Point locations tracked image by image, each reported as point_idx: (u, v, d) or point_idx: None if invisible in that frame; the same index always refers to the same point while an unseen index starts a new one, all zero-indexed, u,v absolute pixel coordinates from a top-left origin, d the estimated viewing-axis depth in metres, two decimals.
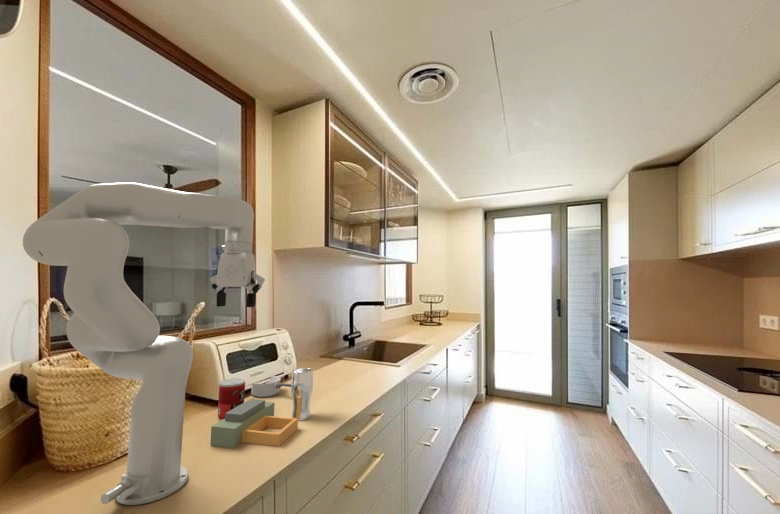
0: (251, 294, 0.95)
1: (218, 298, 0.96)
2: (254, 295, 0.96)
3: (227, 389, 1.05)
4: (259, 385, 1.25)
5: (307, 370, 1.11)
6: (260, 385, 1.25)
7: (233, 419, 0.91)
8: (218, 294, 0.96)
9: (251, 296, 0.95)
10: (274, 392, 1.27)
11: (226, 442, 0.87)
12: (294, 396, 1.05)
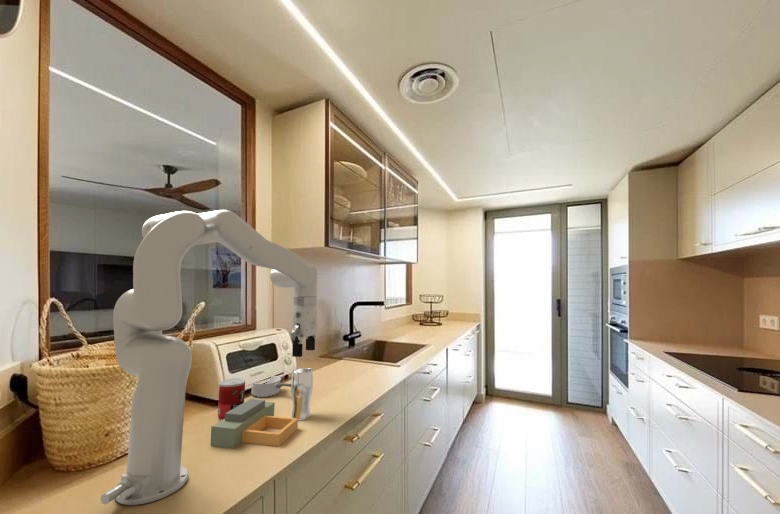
0: None
1: None
2: None
3: (227, 389, 1.05)
4: (260, 384, 1.25)
5: (307, 370, 1.11)
6: (260, 384, 1.25)
7: (233, 419, 0.91)
8: (302, 345, 1.05)
9: None
10: (274, 392, 1.27)
11: (226, 442, 0.87)
12: (294, 396, 1.05)
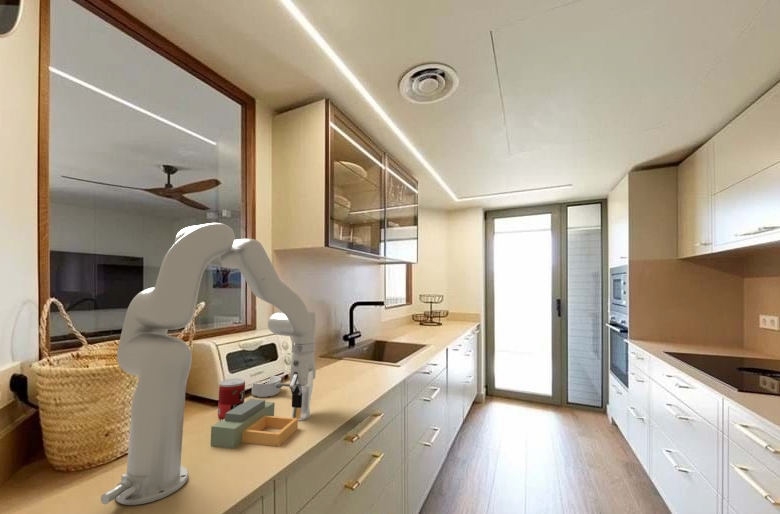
0: None
1: (301, 399, 1.04)
2: None
3: (227, 389, 1.05)
4: (260, 385, 1.25)
5: None
6: (260, 385, 1.25)
7: (233, 419, 0.91)
8: (301, 396, 1.04)
9: None
10: (275, 392, 1.27)
11: (226, 442, 0.87)
12: None
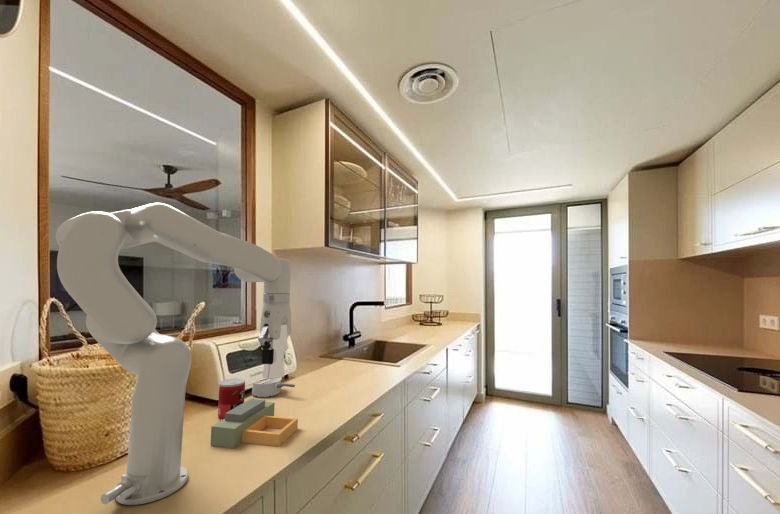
0: None
1: None
2: None
3: (227, 389, 1.05)
4: (260, 385, 1.25)
5: None
6: (261, 385, 1.24)
7: (233, 419, 0.91)
8: (273, 351, 0.93)
9: None
10: (275, 392, 1.27)
11: (226, 442, 0.87)
12: None
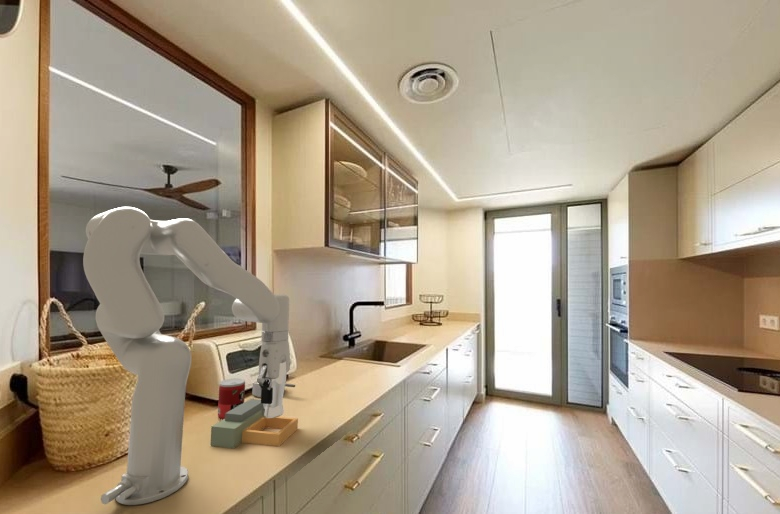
0: None
1: None
2: None
3: (227, 389, 1.05)
4: None
5: None
6: None
7: (233, 419, 0.91)
8: (272, 390, 0.92)
9: None
10: None
11: (226, 442, 0.87)
12: None
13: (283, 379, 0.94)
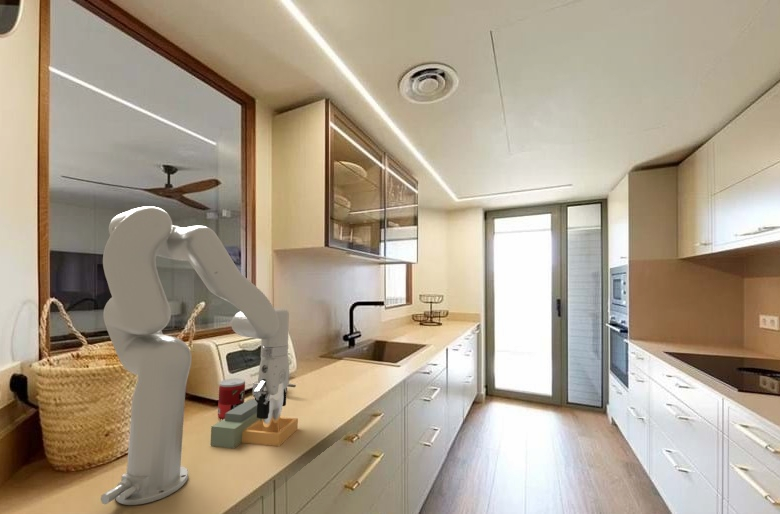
0: (284, 392, 1.00)
1: (268, 409, 0.90)
2: None
3: (227, 389, 1.05)
4: None
5: None
6: None
7: (233, 419, 0.91)
8: (268, 405, 0.90)
9: (284, 394, 1.00)
10: None
11: (226, 442, 0.87)
12: None
13: (280, 401, 0.93)
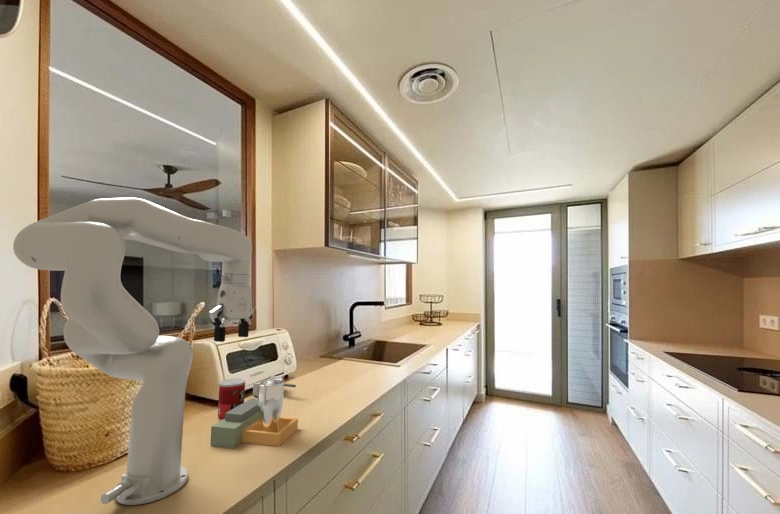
0: None
1: (224, 332, 0.91)
2: None
3: (227, 389, 1.05)
4: None
5: (278, 382, 0.98)
6: None
7: (233, 419, 0.91)
8: (225, 328, 0.91)
9: None
10: None
11: (226, 442, 0.87)
12: (260, 412, 0.92)
13: (280, 401, 0.93)
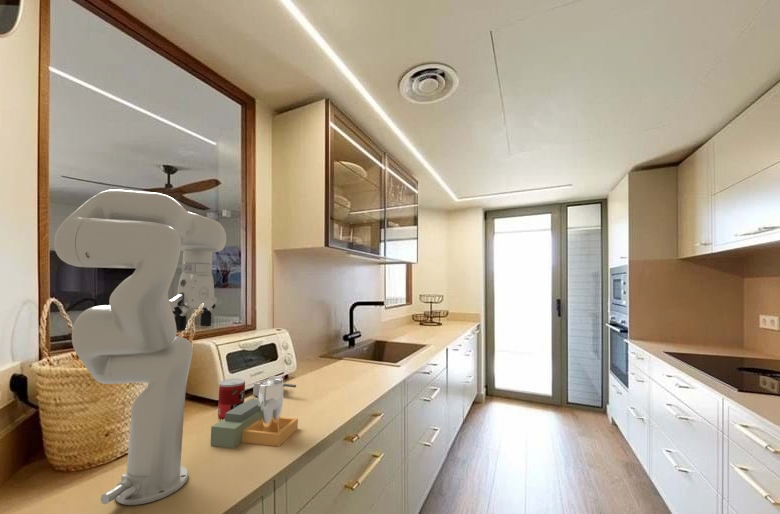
0: None
1: (185, 321, 0.91)
2: None
3: (227, 389, 1.05)
4: None
5: (278, 382, 0.98)
6: None
7: (233, 419, 0.91)
8: (186, 317, 0.92)
9: None
10: None
11: (226, 442, 0.87)
12: (260, 412, 0.92)
13: (280, 401, 0.93)
